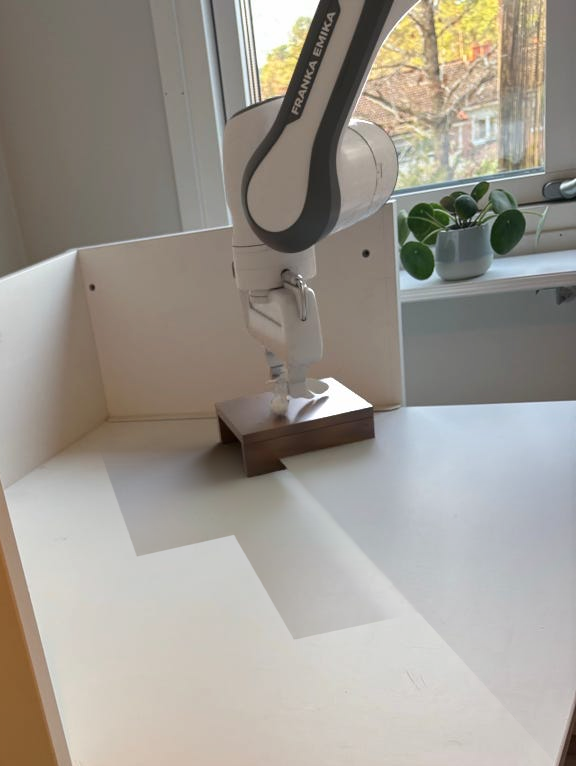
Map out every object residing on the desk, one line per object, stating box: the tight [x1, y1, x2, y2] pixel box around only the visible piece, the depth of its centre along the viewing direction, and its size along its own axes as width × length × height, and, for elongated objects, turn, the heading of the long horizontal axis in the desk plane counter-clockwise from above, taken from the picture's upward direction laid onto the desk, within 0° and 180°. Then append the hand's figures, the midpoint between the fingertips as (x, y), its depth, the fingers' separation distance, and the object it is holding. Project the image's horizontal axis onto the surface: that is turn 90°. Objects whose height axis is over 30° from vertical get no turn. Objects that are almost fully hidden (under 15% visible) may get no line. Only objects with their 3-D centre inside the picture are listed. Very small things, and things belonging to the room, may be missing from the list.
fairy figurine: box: [265, 362, 329, 415], centre depth 113 cm, size 6×7×7 cm
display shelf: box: [214, 376, 376, 478], centre depth 115 cm, size 15×15×5 cm
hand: (287, 388), depth 113 cm, fingers closed on fairy figurine, 6 cm apart
